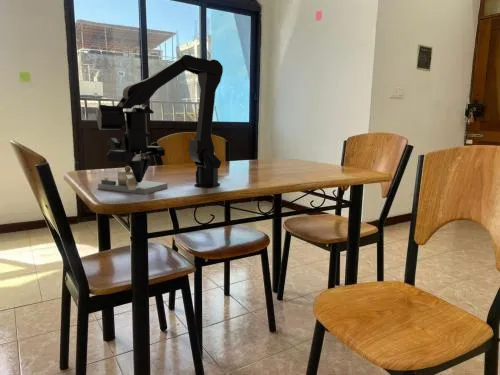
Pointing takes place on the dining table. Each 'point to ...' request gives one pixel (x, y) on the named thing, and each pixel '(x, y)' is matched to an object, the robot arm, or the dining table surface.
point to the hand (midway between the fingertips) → (139, 182)
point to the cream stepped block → (127, 178)
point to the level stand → (141, 187)
